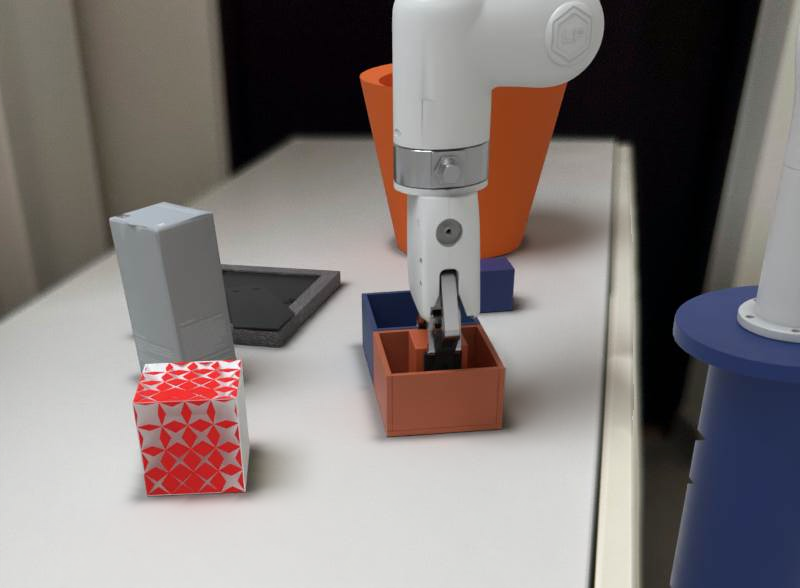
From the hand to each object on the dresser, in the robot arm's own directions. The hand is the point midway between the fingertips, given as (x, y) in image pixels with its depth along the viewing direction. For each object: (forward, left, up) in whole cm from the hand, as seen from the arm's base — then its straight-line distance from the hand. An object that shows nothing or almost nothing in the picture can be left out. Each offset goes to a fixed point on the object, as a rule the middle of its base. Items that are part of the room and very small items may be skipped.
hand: (437, 382), depth 94 cm
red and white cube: (+21, +10, -3) cm, 23 cm away
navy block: (-10, -26, -2) cm, 28 cm away
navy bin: (0, -11, -2) cm, 11 cm away
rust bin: (0, 0, -2) cm, 2 cm away
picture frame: (+17, -30, -3) cm, 35 cm away
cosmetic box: (+23, -10, -3) cm, 26 cm away
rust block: (0, 0, 0) cm, 0 cm away
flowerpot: (-11, -51, -3) cm, 53 cm away
